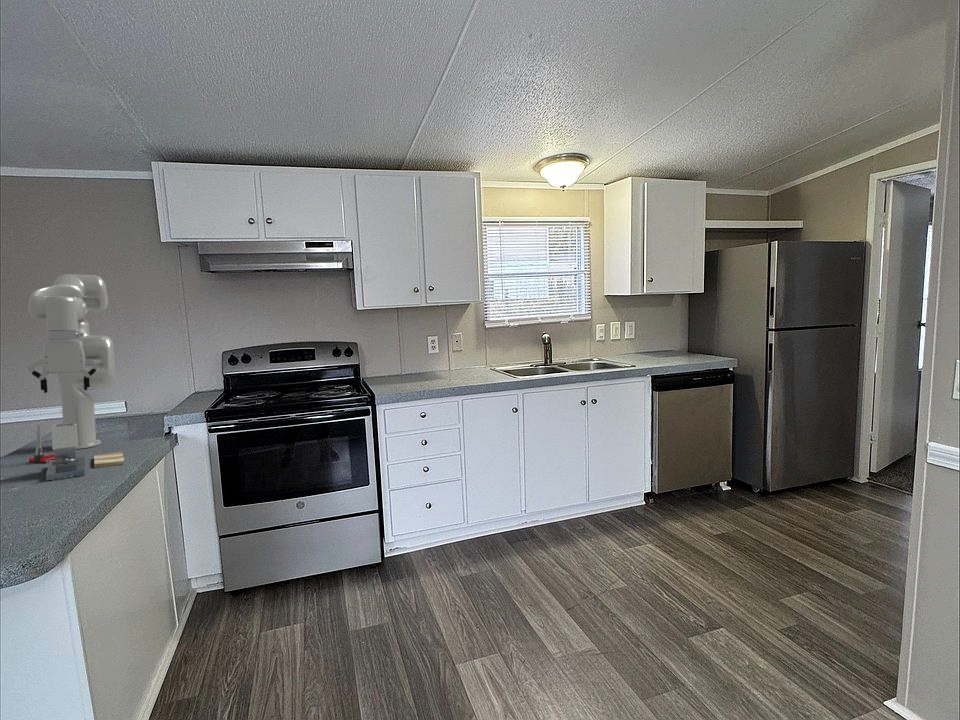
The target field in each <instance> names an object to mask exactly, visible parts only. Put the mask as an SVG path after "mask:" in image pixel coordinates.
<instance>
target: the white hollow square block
mask: <svg viewBox="0 0 960 720" xmlns="http://www.w3.org/2000/svg"><path fill="white" fill-rule="evenodd" d="M50 428H51V430H50V431H51V444H52V445H51V446H52V447H51V448H52V451H55V450H58V449H67V448H75V447H78V439H77V422H75V423H64V424H63V423H56V424H55V423H54V424H52V425H51V427H50Z"/></svg>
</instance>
